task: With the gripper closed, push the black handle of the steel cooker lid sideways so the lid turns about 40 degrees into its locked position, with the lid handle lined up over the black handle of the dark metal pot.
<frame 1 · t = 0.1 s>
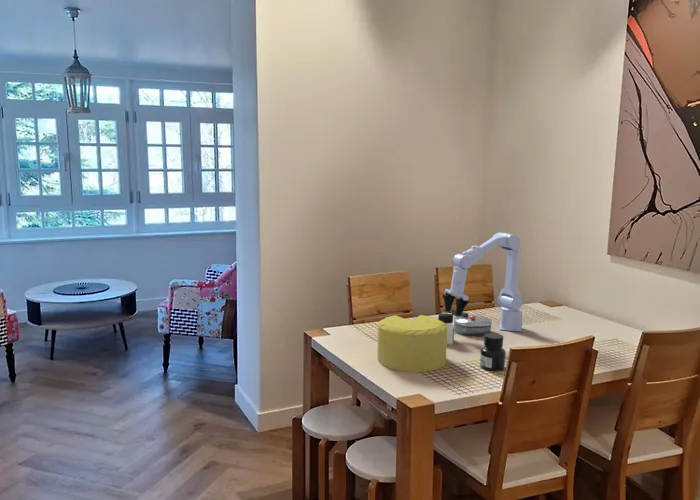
hand: (452, 313, 256), 11 cm above the table, tool pointing down, fingers open, 7 cm apart
cooker lid: (468, 317, 268), point 6 cm above the table, hinge at 40.0°
ink bottle: (492, 367, 222), on the table
cheese: (411, 360, 229), on the table
cooker pot: (472, 331, 267), on the table
medicine bottle: (444, 342, 252), on the table
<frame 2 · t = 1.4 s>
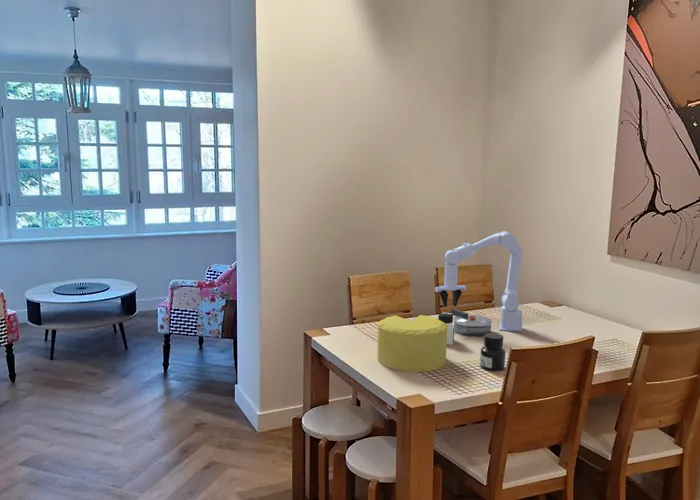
hand: (449, 306, 273), 9 cm above the table, tool pointing down, fingers open, 4 cm apart
nothing on the table moved.
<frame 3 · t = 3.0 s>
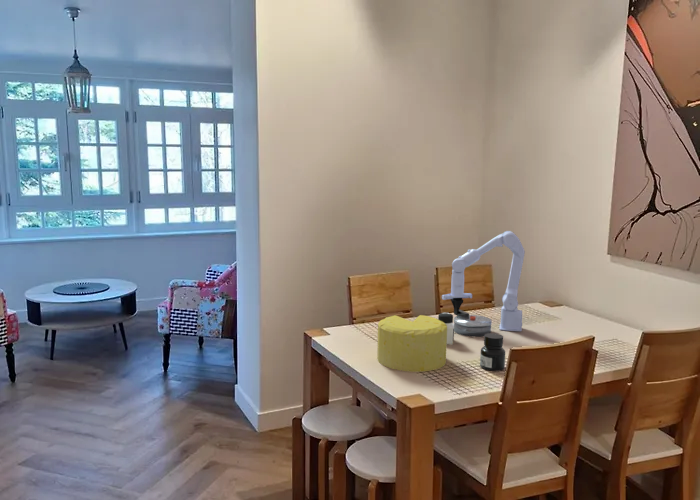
hand: (456, 314, 275), 5 cm above the table, tool pointing down, fingers closed
cooker lid: (469, 317, 269), point 6 cm above the table, hinge at 34.5°, touching gripper
everything else where it was.
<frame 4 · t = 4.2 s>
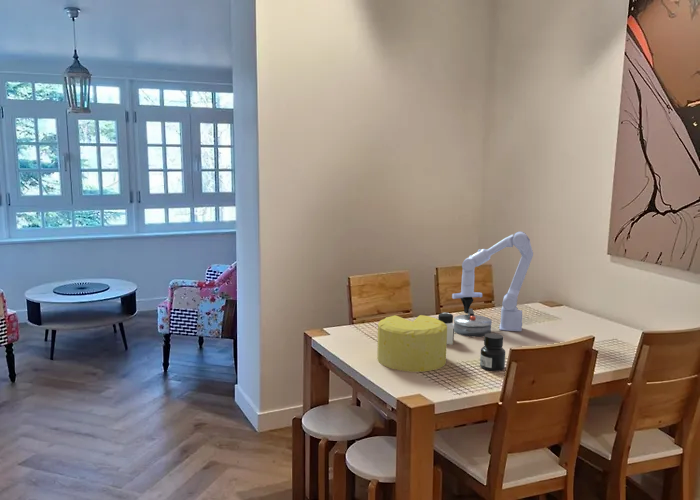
hand: (466, 313, 277), 6 cm above the table, tool pointing down, fingers closed, pressing on cooker lid
cooker lid: (472, 317, 269), point 6 cm above the table, hinge at 6.1°, touching gripper
everything else where it was.
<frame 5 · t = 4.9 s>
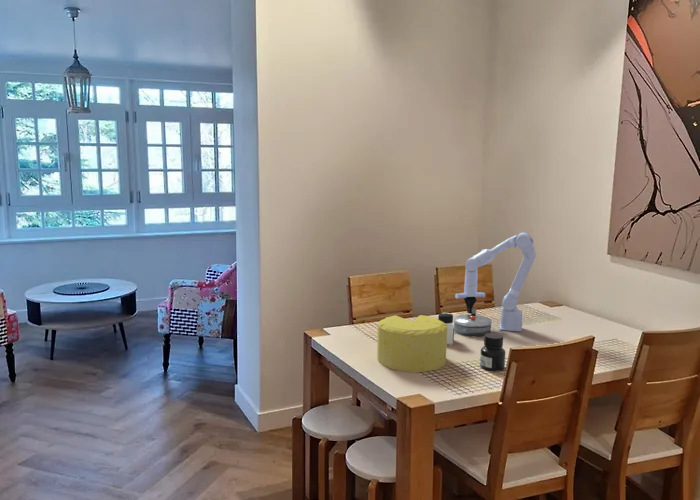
hand: (469, 312, 277), 6 cm above the table, tool pointing down, fingers closed, pressing on cooker lid
cooker lid: (473, 317, 269), point 6 cm above the table, hinge at -1.7°, touching gripper
everything else where it was.
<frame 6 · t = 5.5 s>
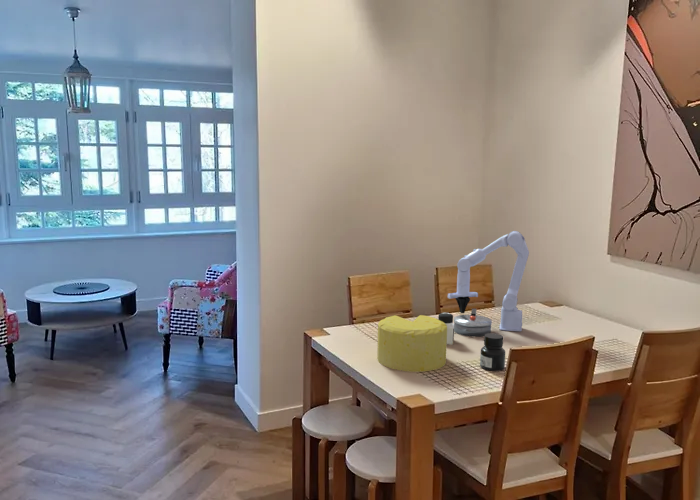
hand: (462, 312, 278), 5 cm above the table, tool pointing down, fingers closed
cooker lid: (473, 317, 269), point 6 cm above the table, hinge at -1.7°
everything else where it was.
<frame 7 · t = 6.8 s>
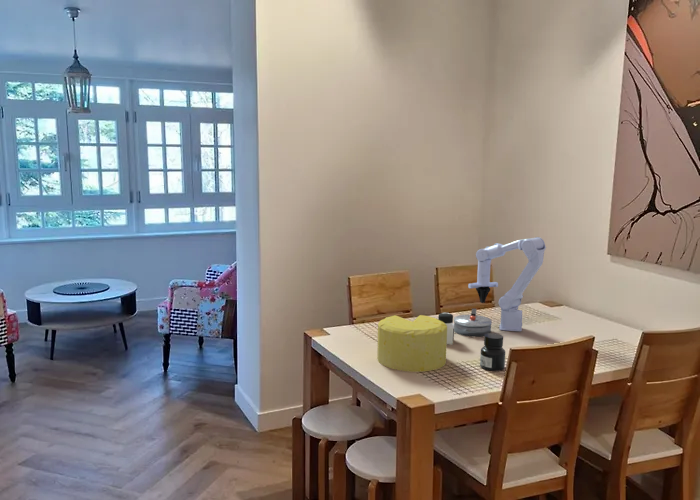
hand: (482, 302, 281), 9 cm above the table, tool pointing down, fingers closed
nothing on the table moved.
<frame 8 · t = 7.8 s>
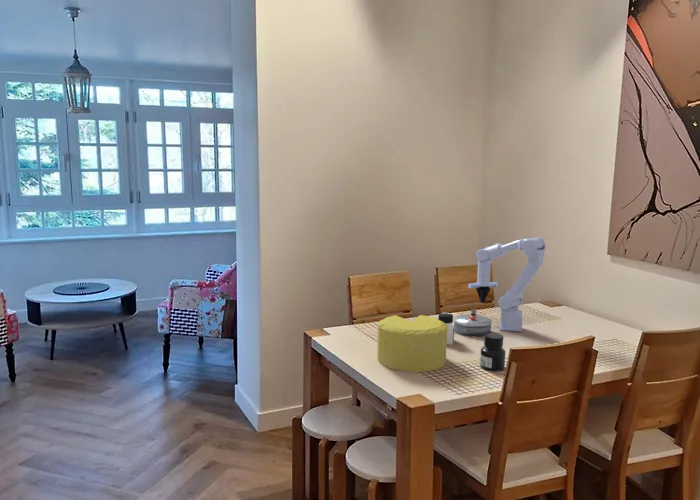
hand: (482, 302, 281), 9 cm above the table, tool pointing down, fingers closed
nothing on the table moved.
at the end: cooker lid at -2° (first picture: +40°); medicine bottle moved 0.2 cm from its start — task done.
